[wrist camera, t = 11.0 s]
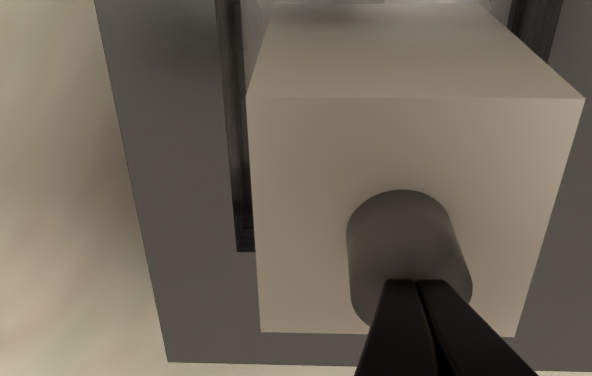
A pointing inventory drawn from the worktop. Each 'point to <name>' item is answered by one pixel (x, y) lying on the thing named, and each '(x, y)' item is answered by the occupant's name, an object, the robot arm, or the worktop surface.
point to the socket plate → (237, 179)
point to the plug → (400, 160)
